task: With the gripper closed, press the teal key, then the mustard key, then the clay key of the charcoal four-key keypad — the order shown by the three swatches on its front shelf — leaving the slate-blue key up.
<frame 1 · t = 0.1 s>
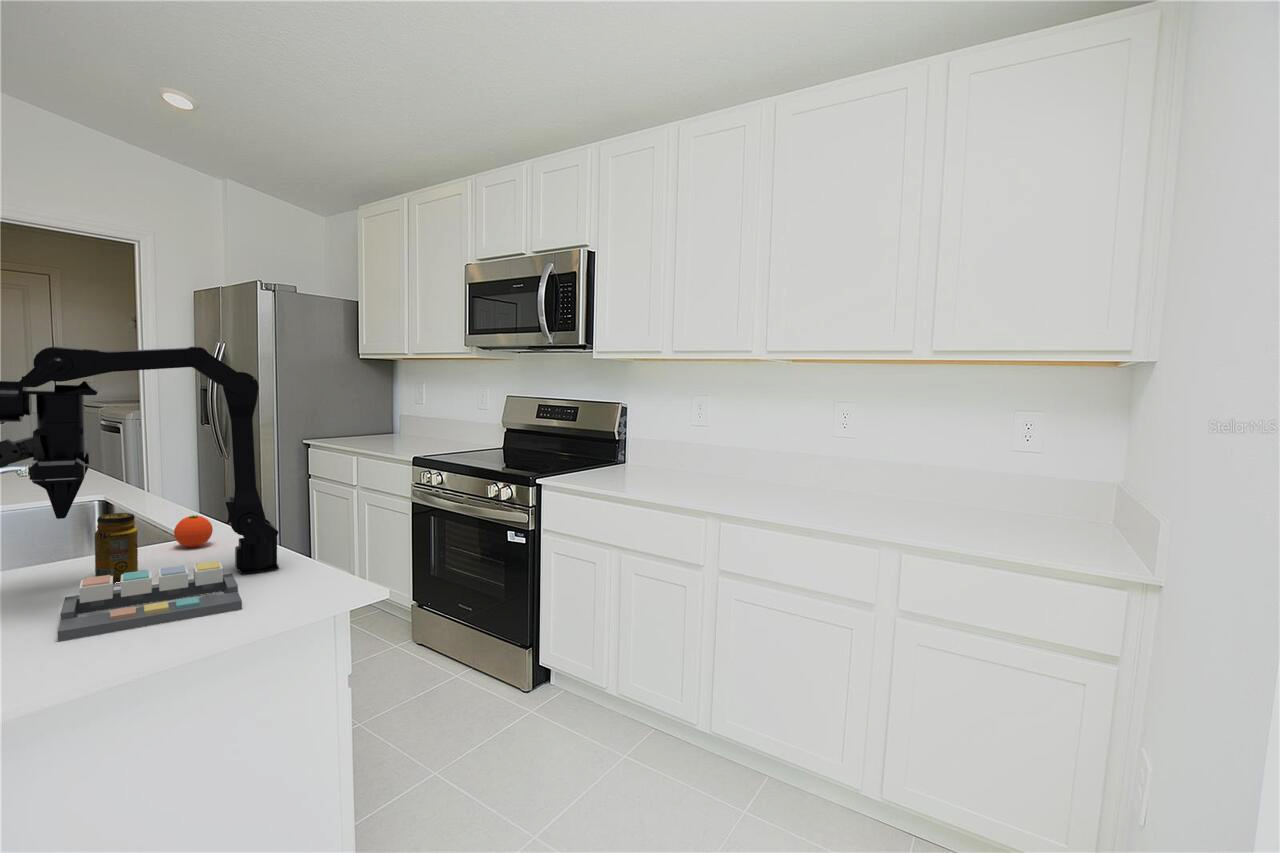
hand: (63, 512, 102), 15 cm above the countertop, tool pointing down, fingers open, 9 cm apart
clementine: (193, 546, 134), on the countertop
key teal: (136, 586, 98), point 4 cm above the countertop, slide at 0.0 cm
condiment: (114, 580, 112), on the countertop
key slate: (173, 581, 101), point 4 cm above the countertop, slide at 0.0 cm
key mustard: (208, 576, 104), point 4 cm above the countertop, slide at 0.0 cm
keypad: (155, 609, 99), on the countertop
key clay: (96, 592, 95), point 4 cm above the countertop, slide at 0.0 cm
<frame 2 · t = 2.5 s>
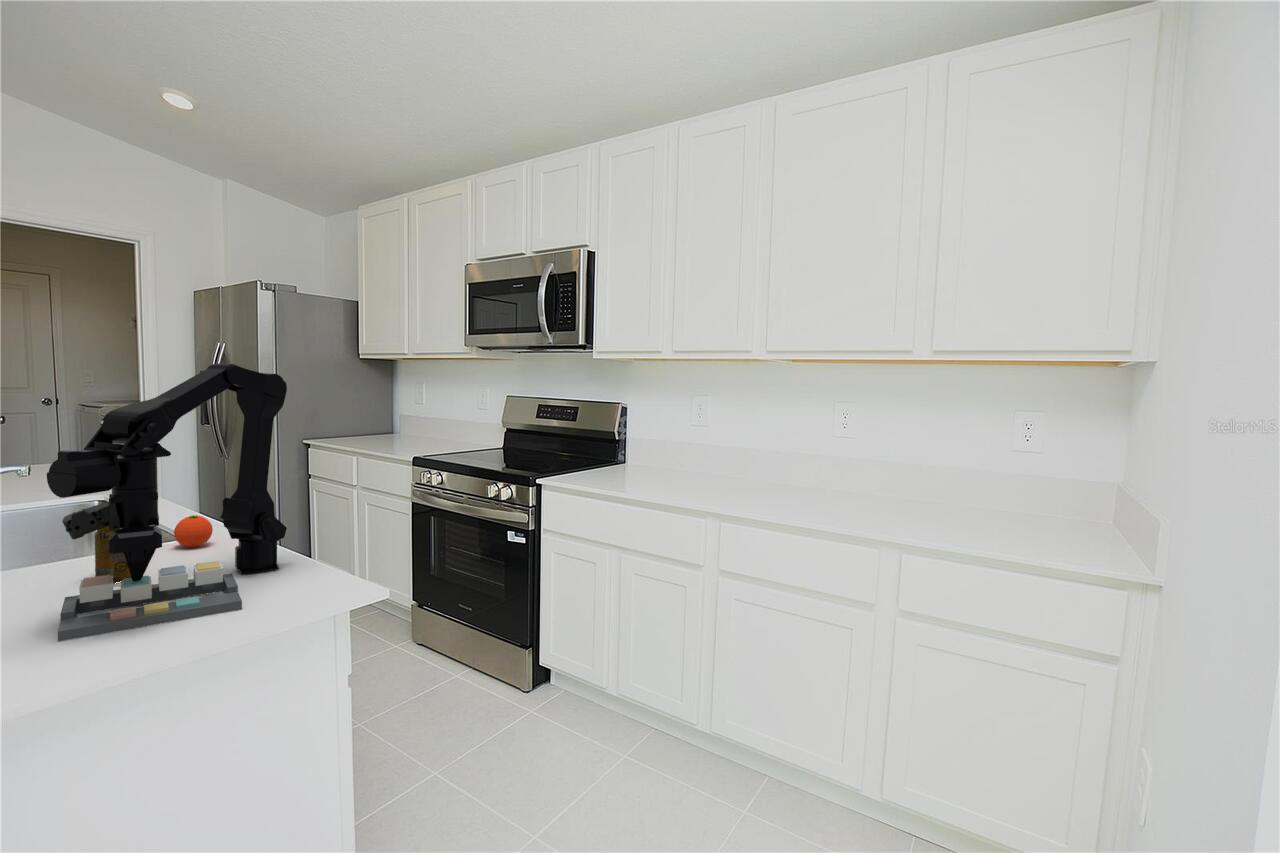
hand: (136, 580, 98), 5 cm above the countertop, tool pointing down, fingers closed, pressing on key teal
key teal: (136, 592, 98), point 3 cm above the countertop, slide at -1.0 cm, touching gripper
everything else where it was.
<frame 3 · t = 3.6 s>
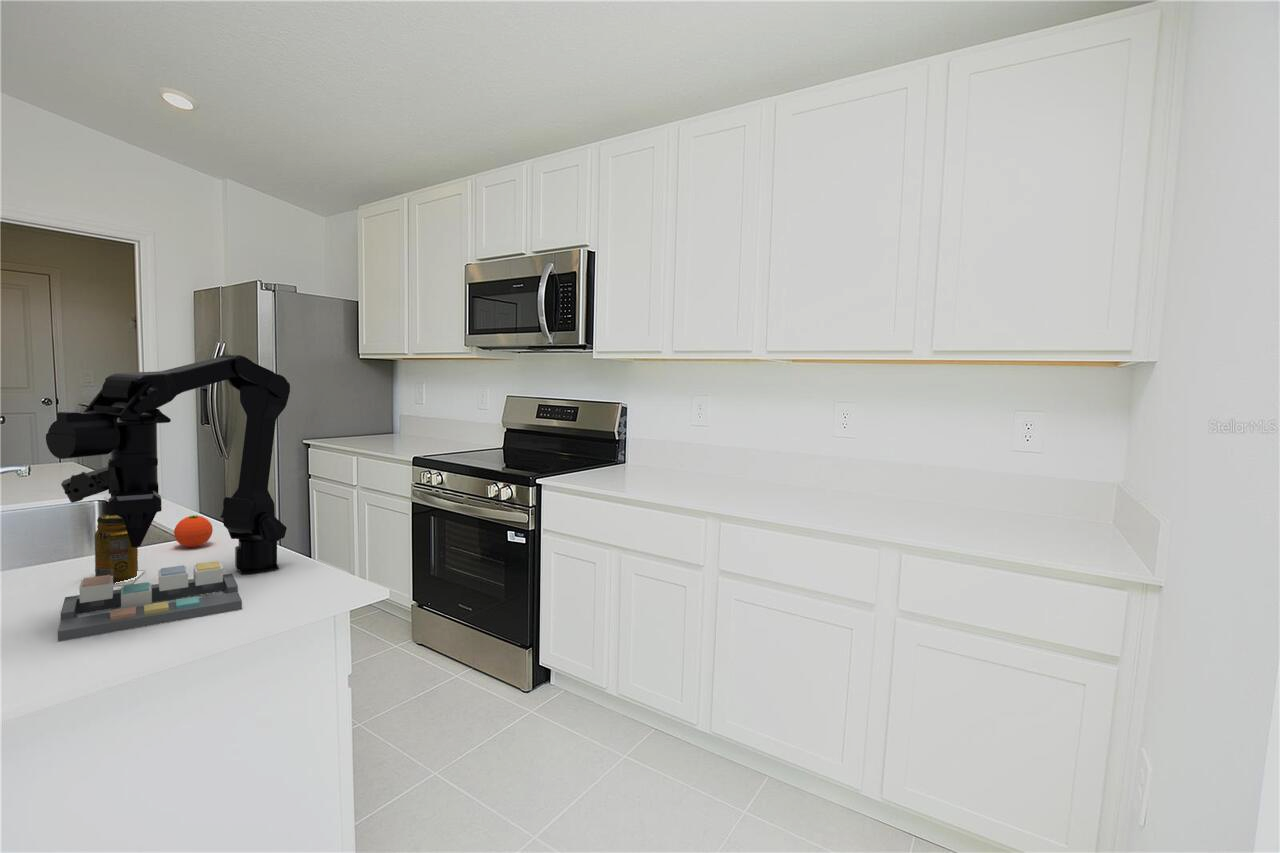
hand: (135, 546, 98), 11 cm above the countertop, tool pointing down, fingers closed
key teal: (136, 598, 98), point 2 cm above the countertop, slide at -2.1 cm
everything else where it was.
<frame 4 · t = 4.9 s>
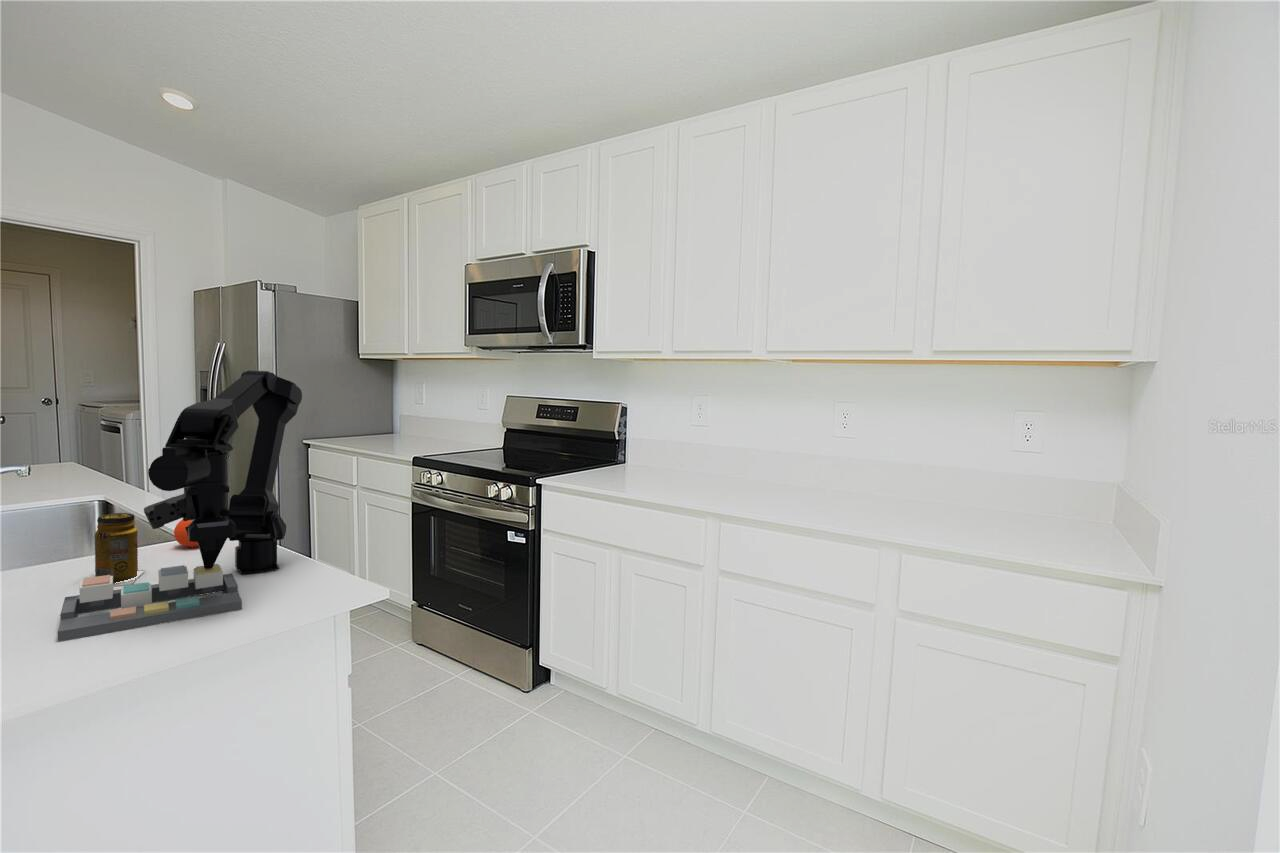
hand: (208, 568, 104), 6 cm above the countertop, tool pointing down, fingers closed, pressing on key mustard
key mustard: (208, 579, 104), point 4 cm above the countertop, slide at -0.6 cm, touching gripper
everything else where it was.
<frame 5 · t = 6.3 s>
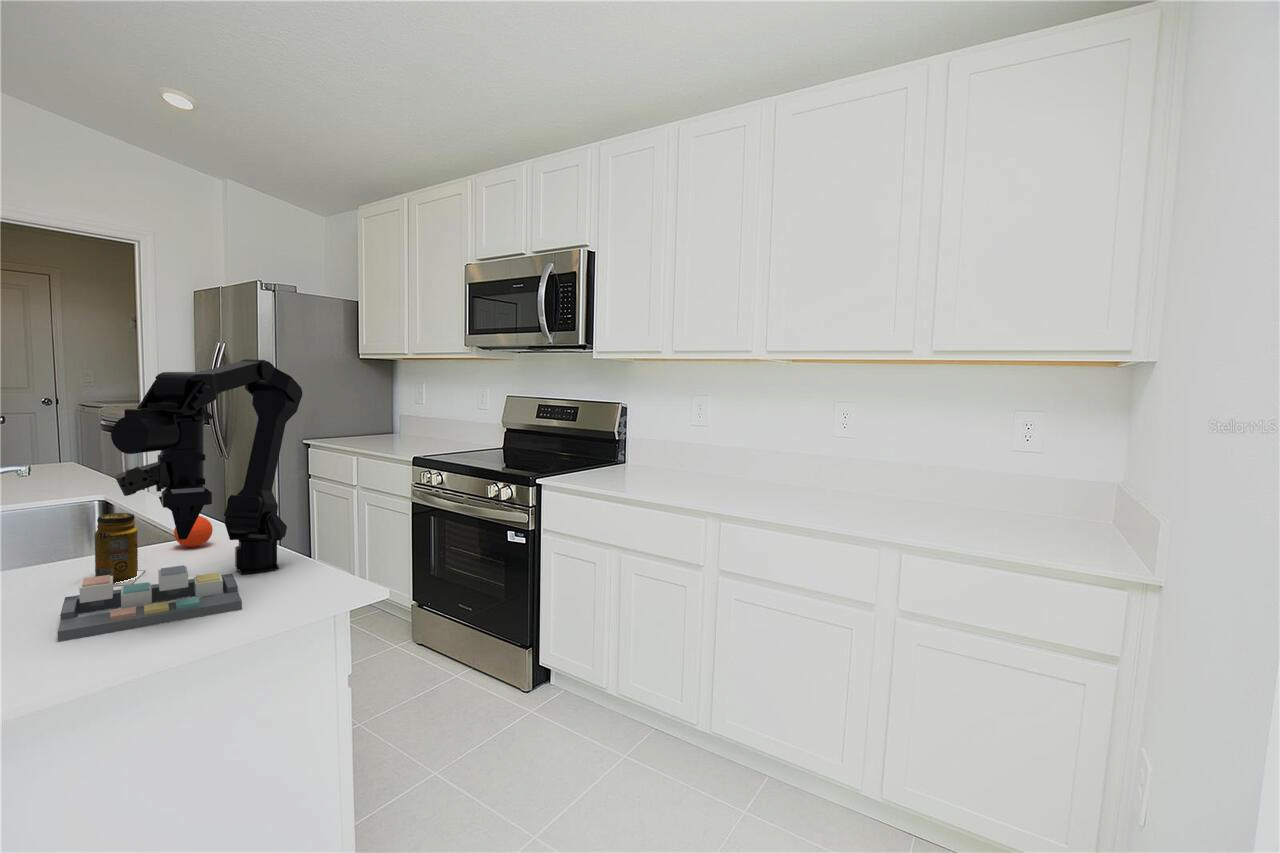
hand: (182, 539, 101), 11 cm above the countertop, tool pointing down, fingers closed
key mustard: (208, 588, 105), point 2 cm above the countertop, slide at -2.1 cm
everything else where it was.
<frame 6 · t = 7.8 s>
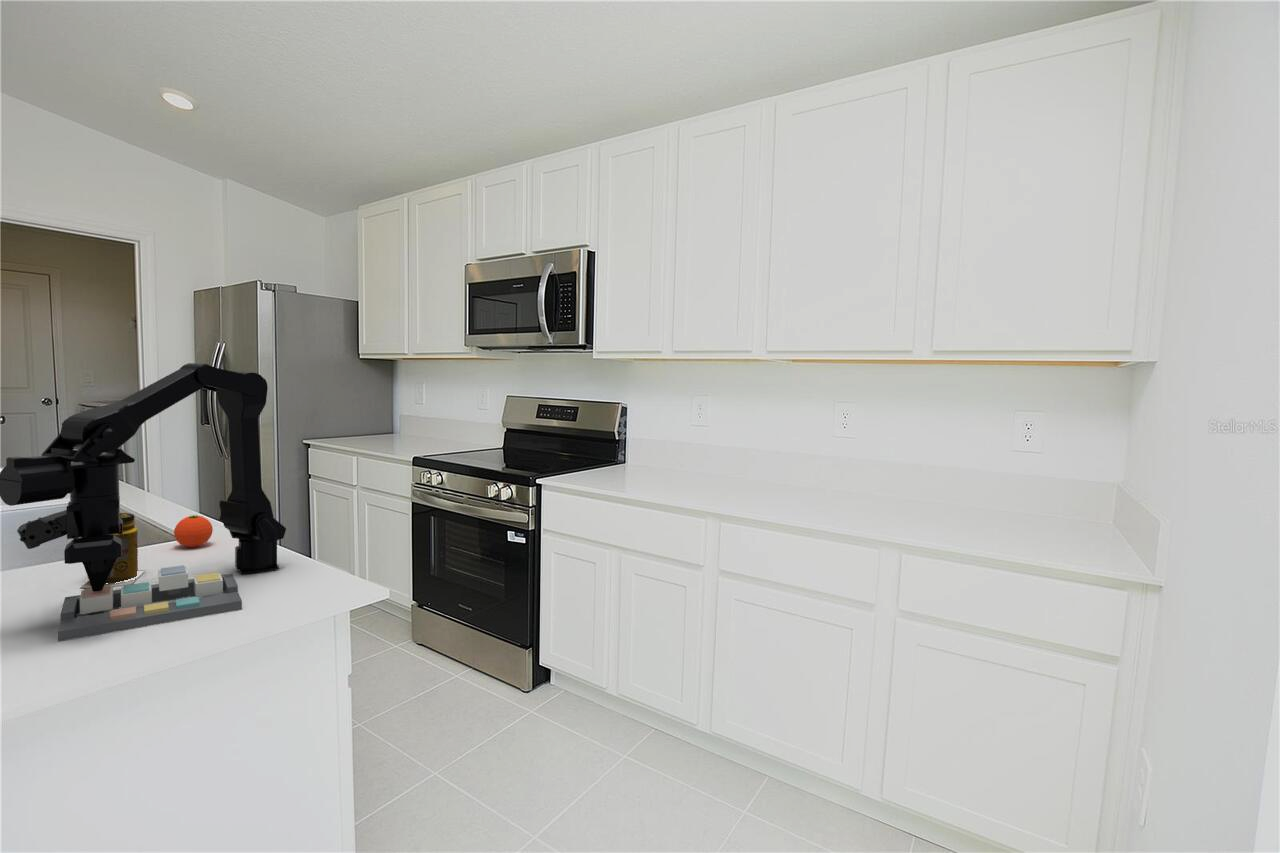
hand: (97, 590, 95), 4 cm above the countertop, tool pointing down, fingers closed, pressing on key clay
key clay: (97, 602, 95), point 2 cm above the countertop, slide at -1.8 cm, touching gripper
everything else where it was.
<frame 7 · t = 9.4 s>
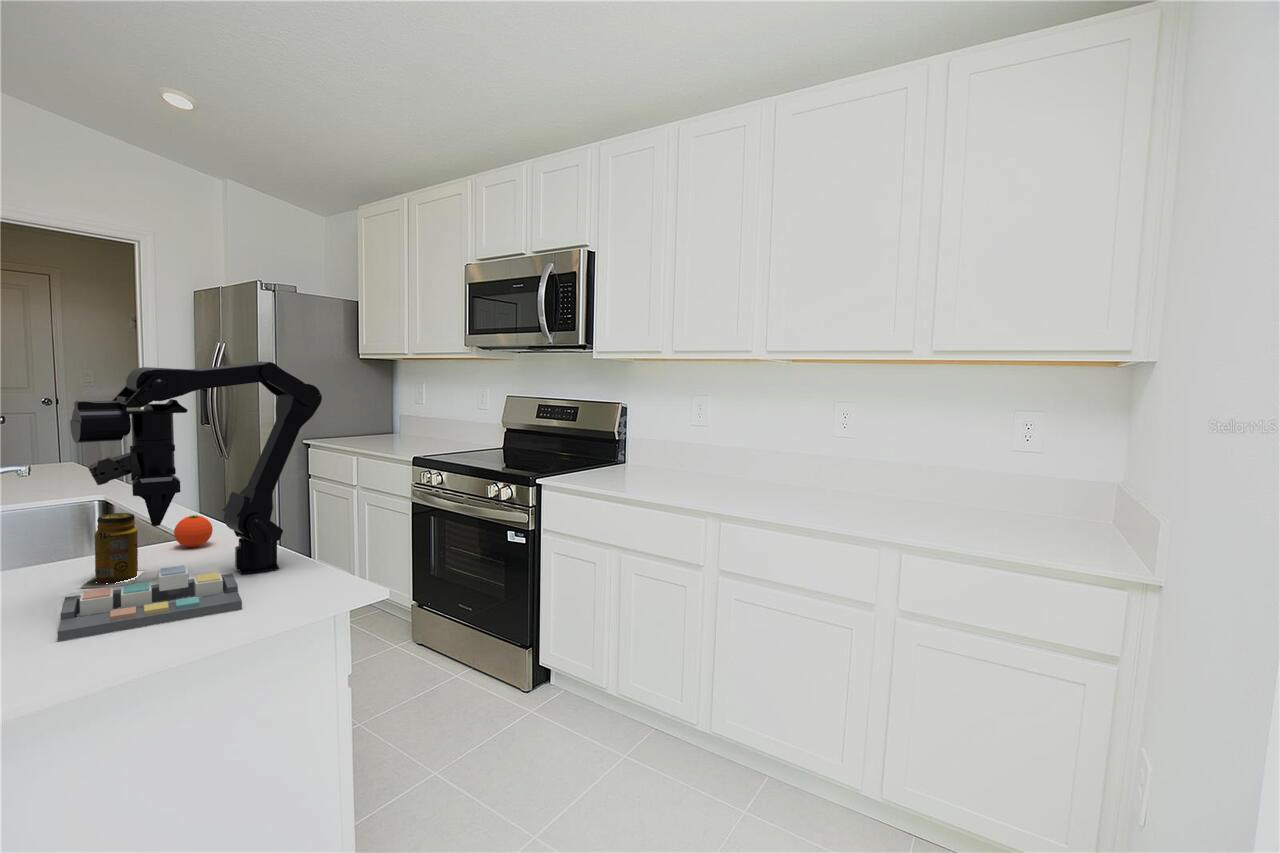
hand: (156, 525, 107), 12 cm above the countertop, tool pointing down, fingers closed
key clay: (97, 604, 95), point 2 cm above the countertop, slide at -2.1 cm
everything else where it was.
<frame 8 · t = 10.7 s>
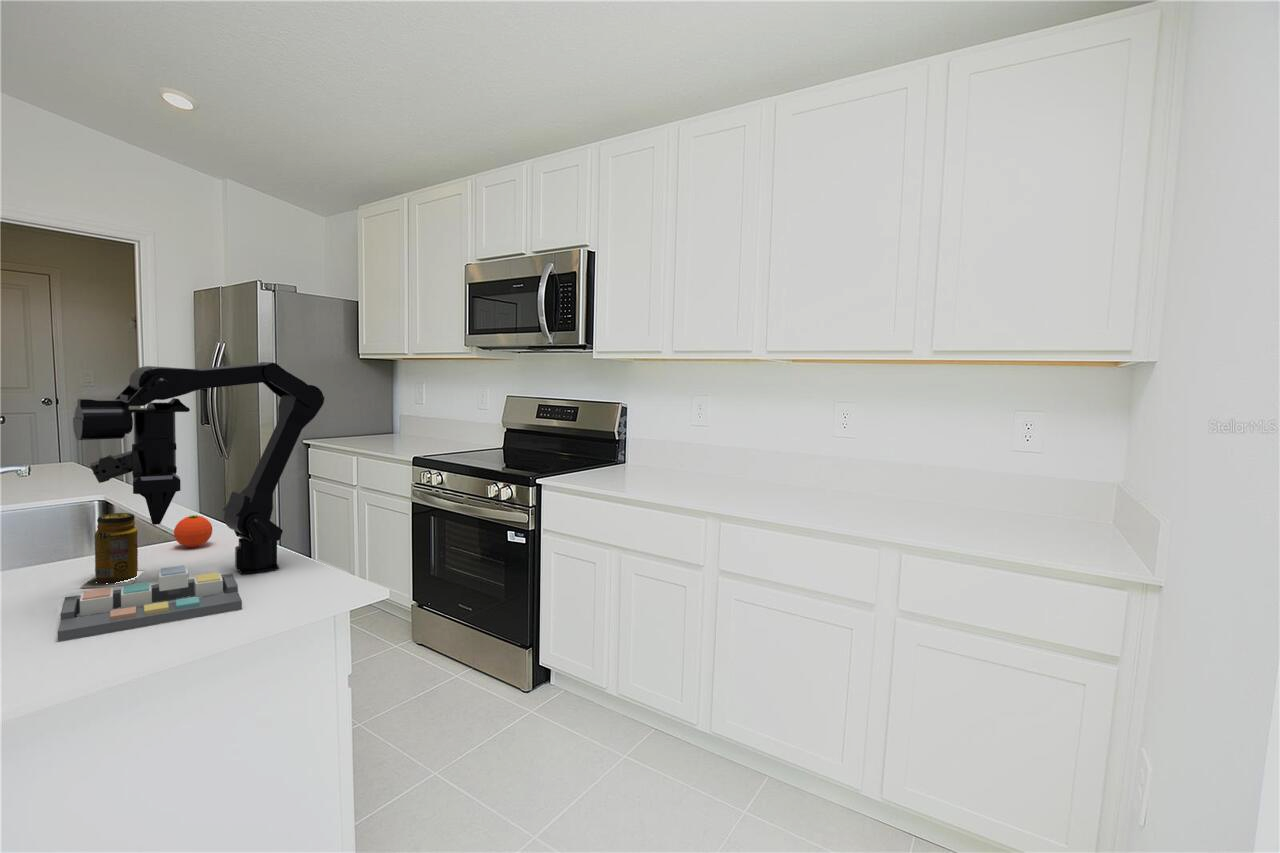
hand: (156, 524, 107), 12 cm above the countertop, tool pointing down, fingers closed
nothing on the countertop moved.
at the end: key mustard slide at -2.1 cm; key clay slide at -2.1 cm; key slate slide at 0.0 cm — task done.
